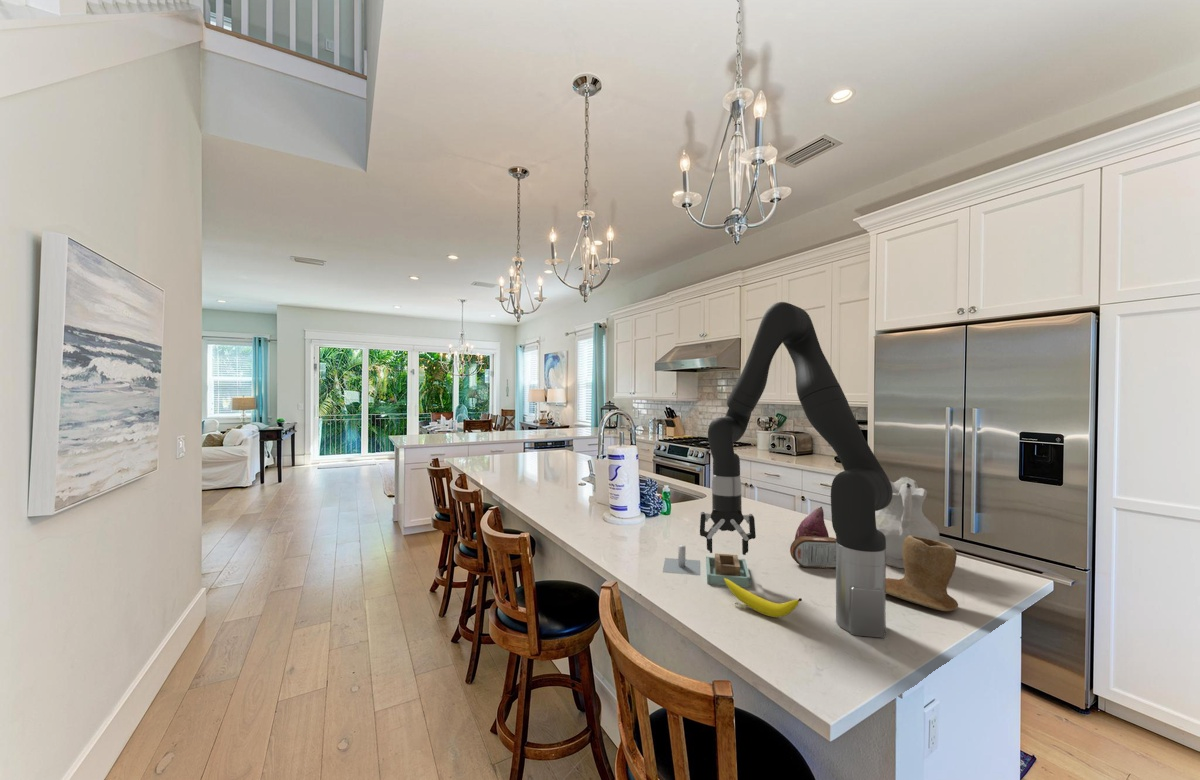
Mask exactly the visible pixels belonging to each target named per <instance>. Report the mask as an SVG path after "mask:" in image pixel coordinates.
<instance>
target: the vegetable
mask: <svg viewBox="0 0 1200 780" xmlns="http://www.w3.org/2000/svg"><path fill="white" fill-rule="evenodd" d="M824 513H825V512H824V509H823V506H820V507H817V508H815V509H814V510H813V511H812V512H811V513H809V514H808V515H807V516H806V517H805V518H804V519H803V520H802V521H801V522H800V523H799V526H798V527H797V528H796V529H797V530H796V531H795V537H794V540H795V539H797V538H799V537H802V536H811V537H830V536H829V532H828V529H827V525H826V523H825V518H824V516H825V514H824Z"/></svg>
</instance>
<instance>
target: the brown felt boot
mask: <svg viewBox="0 0 1200 780" xmlns="http://www.w3.org/2000/svg"><path fill="white" fill-rule="evenodd" d="M902 555H903V563H904V568H905V569H904V568H903V569H904V576H903V578H900V579H897V578H890V577H886V594H887V595H889V596H892V597H894V598H899V599H901V600H904V601H907V602H910V603H913V604H916V605H920V606H923V607H926V608H929V609H933V610H938V611H941V612H952V611H955V610H957V608H958V606H959V603H958V601H957V600H956V599H955V598H954V597H952V596H950V595H949V594H948V590H947V589H948V585H949V582H950V580H951V579H952V576H953V574H954V572H955V568H956V563H957V557H958V556H957V551H956V549H955V547H953V546H952V545H950V544H947V543H945V542H942V541H940V540H939V541H936V540H932V539H927V538H923V537H917V536H912V535H909V536H907V537H906V538H905V540H904V543H903V548H902Z"/></svg>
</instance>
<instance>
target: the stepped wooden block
mask: <svg viewBox="0 0 1200 780" xmlns="http://www.w3.org/2000/svg"><path fill="white" fill-rule="evenodd" d="M714 557H715V574H716V575H729V576H740V564H739V560H738V559H739V557H738V555H737V554H727V553H714Z"/></svg>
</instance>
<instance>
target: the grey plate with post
mask: <svg viewBox="0 0 1200 780" xmlns="http://www.w3.org/2000/svg"><path fill="white" fill-rule="evenodd" d="M677 549H678V551H677V553H678V555H677V558H671V557H670V558H669V557H665V558H664V562H663V566H662V567H663V569H662V573H669V574H681V575H692V576H701V560H699V559H686V545H684V544H679V545H678V546H677Z"/></svg>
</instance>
